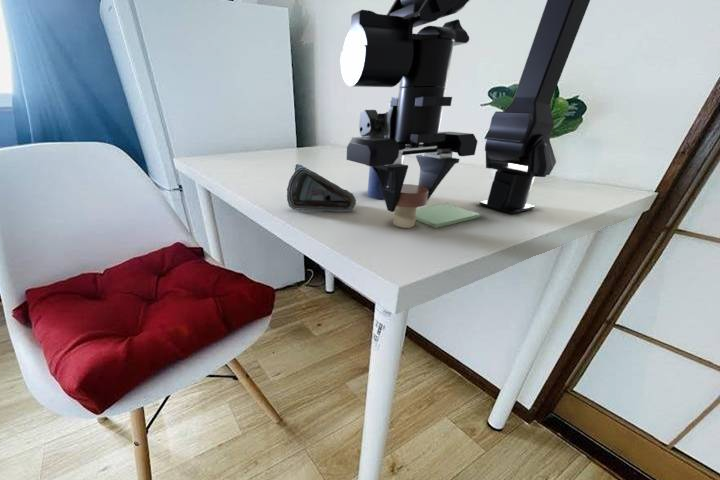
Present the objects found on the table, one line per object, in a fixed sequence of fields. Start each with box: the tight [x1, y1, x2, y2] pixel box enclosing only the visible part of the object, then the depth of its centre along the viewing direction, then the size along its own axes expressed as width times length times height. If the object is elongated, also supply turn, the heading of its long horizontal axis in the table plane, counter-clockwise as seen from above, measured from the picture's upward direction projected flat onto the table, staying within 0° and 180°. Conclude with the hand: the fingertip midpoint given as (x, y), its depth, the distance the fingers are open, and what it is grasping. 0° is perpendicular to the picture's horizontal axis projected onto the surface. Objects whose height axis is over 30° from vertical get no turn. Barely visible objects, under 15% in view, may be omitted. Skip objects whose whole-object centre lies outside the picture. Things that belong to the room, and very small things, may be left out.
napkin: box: [415, 202, 481, 229], centre depth 50 cm, size 10×7×1 cm
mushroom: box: [392, 183, 429, 229], centre depth 46 cm, size 6×6×6 cm
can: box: [367, 155, 405, 200], centre depth 59 cm, size 6×6×11 cm
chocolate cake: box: [286, 163, 357, 213], centre depth 56 cm, size 10×7×12 cm
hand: (406, 208), depth 46 cm, fingers closed on mushroom, 5 cm apart
